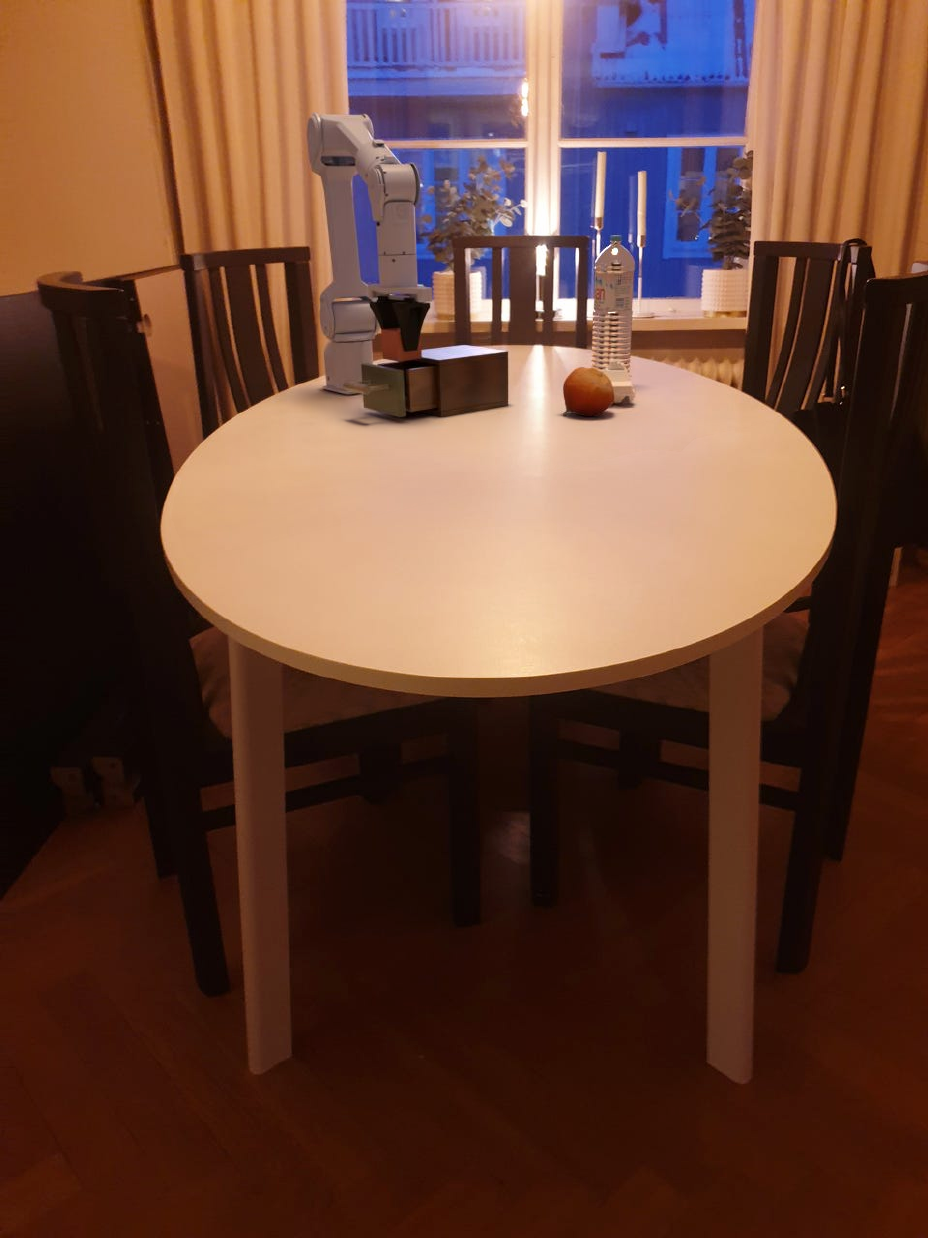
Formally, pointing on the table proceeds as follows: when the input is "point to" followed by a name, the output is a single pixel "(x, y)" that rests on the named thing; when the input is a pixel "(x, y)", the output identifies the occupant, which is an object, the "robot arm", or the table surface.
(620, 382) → the toy car
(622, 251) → the water bottle
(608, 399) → the fruit
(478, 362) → the cabinet
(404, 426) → the table surface
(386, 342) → the block
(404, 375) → the drawer
